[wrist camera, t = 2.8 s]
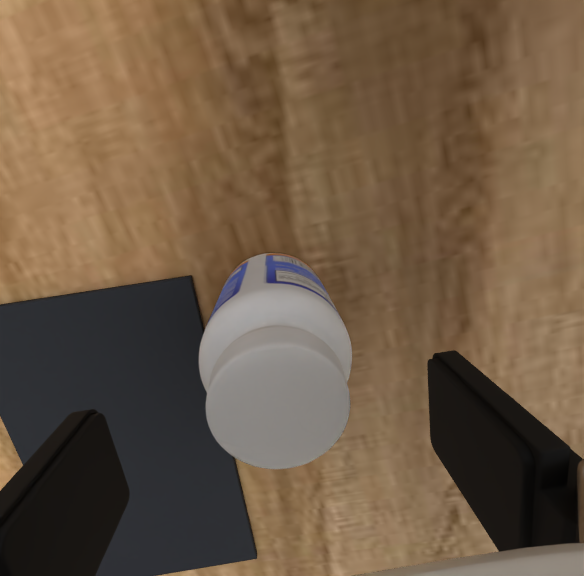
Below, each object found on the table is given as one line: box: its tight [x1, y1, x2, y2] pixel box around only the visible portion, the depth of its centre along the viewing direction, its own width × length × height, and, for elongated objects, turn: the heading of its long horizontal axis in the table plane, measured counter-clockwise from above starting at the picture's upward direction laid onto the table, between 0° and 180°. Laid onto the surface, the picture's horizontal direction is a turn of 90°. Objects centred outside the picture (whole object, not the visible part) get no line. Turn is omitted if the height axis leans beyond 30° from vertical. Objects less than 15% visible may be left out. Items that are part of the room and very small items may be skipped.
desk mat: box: [0, 276, 257, 576], centre depth 21 cm, size 20×12×1 cm, turn 8°
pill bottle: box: [199, 253, 352, 469], centre depth 14 cm, size 5×5×10 cm
